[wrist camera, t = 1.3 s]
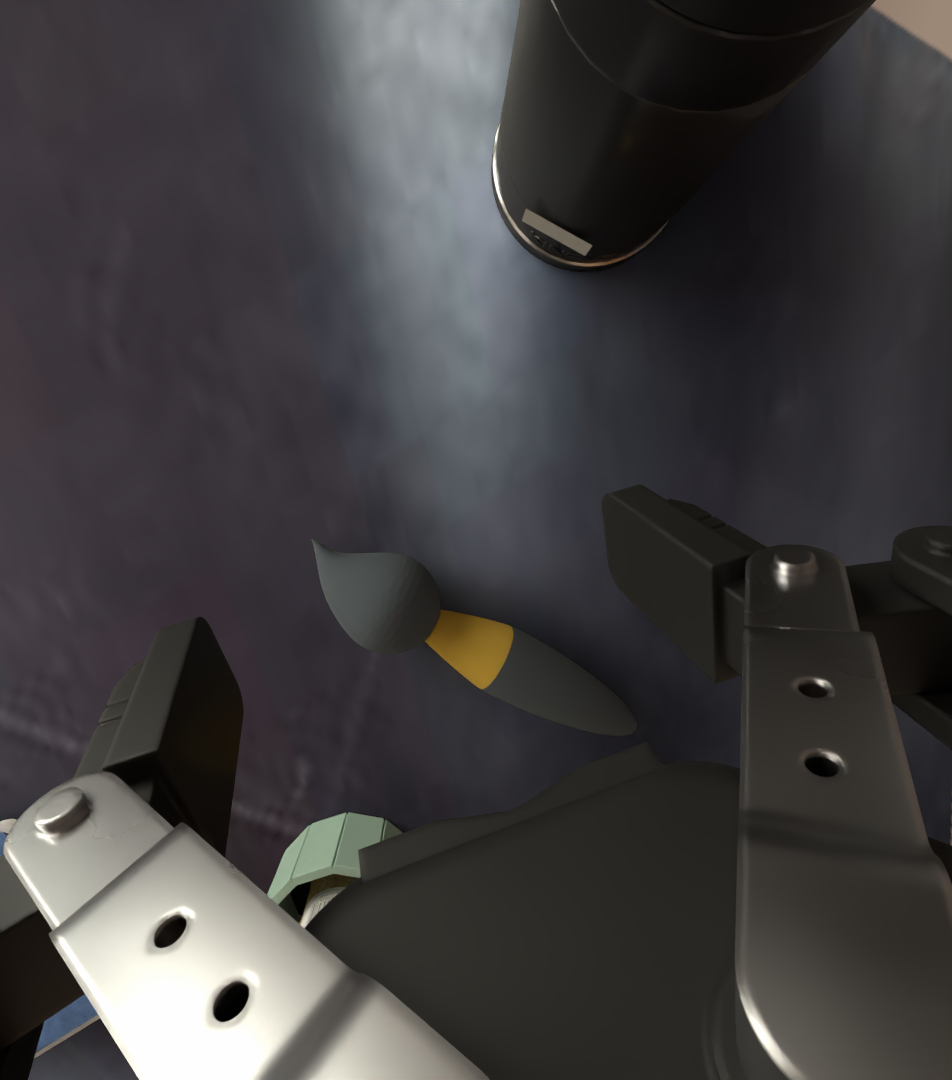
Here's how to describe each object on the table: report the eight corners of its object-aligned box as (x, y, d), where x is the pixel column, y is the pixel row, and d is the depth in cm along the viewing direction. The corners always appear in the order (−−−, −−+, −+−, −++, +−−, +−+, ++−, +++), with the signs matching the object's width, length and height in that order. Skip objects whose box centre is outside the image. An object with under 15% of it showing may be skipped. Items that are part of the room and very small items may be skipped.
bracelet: (294, 802, 34) (271, 854, 29) (436, 827, 35) (436, 881, 30) (268, 932, 35) (243, 1001, 30) (408, 953, 36) (403, 1024, 31)
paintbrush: (658, 661, 34) (694, 695, 29) (618, 737, 34) (647, 785, 29) (331, 513, 32) (309, 524, 27) (294, 597, 32) (266, 622, 27)
